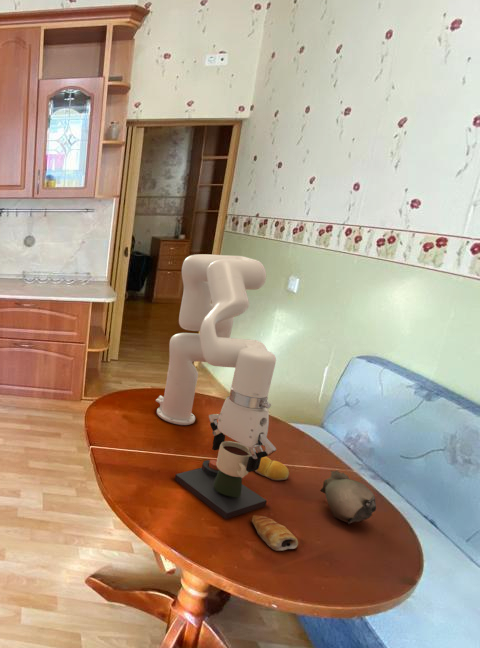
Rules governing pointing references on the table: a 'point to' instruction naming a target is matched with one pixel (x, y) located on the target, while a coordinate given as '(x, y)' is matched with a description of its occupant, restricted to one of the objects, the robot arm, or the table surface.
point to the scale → (224, 505)
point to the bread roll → (272, 469)
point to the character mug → (231, 468)
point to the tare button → (213, 464)
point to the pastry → (274, 533)
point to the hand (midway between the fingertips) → (233, 459)
